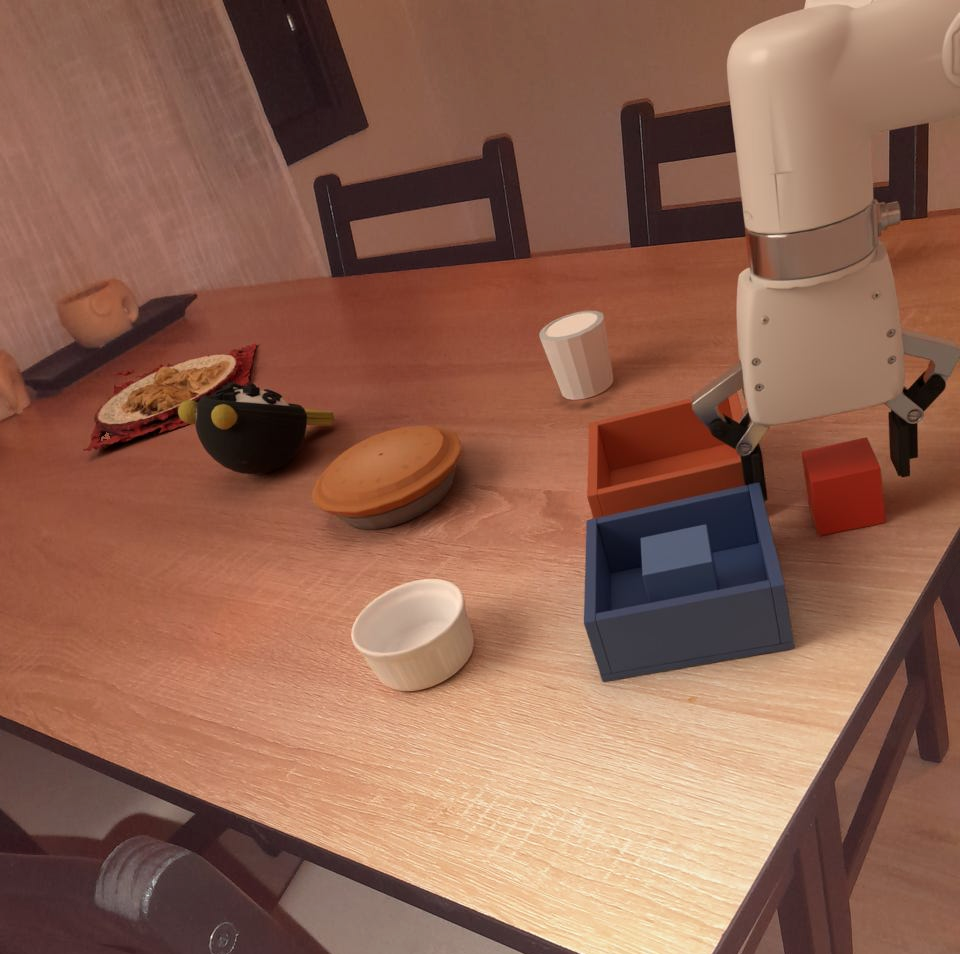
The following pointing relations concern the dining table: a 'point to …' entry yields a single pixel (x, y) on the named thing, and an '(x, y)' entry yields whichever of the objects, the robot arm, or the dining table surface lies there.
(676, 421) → the red bin
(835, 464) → the red block
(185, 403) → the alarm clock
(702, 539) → the blue block
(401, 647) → the ramekin
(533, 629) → the dining table surface
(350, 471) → the pie
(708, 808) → the dining table surface
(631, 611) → the blue bin
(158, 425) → the plate with food
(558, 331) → the white cup
